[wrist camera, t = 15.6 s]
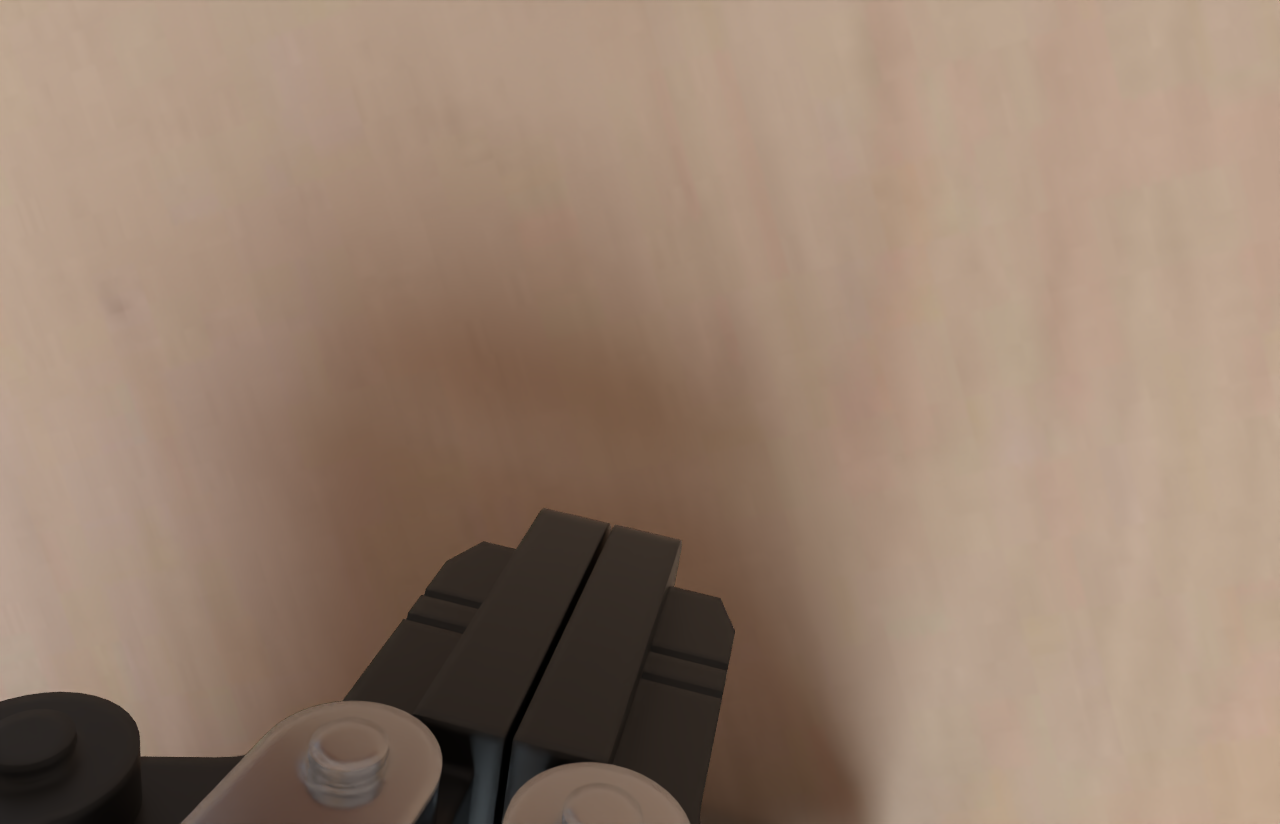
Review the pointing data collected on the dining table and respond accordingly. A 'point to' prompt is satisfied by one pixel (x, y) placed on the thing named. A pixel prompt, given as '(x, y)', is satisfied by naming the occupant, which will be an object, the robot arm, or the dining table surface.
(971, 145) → the dining table surface
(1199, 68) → the dining table surface
